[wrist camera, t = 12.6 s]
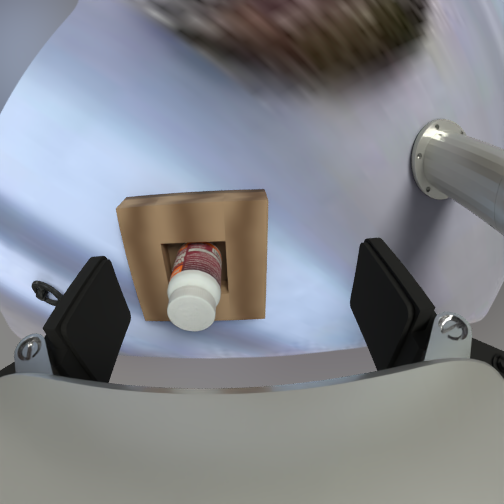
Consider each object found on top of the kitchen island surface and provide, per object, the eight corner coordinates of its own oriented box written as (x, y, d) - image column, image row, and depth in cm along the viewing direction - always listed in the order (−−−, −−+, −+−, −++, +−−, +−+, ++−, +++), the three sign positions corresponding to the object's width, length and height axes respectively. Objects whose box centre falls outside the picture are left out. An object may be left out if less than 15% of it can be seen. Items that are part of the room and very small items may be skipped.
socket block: (264, 189, 35) (268, 200, 31) (262, 301, 44) (265, 318, 40) (126, 197, 34) (115, 208, 30) (150, 303, 43) (145, 320, 39)
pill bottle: (180, 233, 36) (162, 286, 26) (226, 242, 37) (225, 297, 27) (175, 271, 39) (160, 329, 29) (218, 279, 40) (215, 338, 30)
